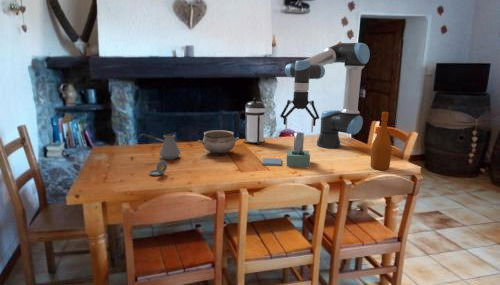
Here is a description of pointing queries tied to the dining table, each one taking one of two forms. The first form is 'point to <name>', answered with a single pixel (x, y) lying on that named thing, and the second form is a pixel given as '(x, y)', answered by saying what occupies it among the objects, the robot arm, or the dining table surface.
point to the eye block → (298, 159)
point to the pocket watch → (159, 171)
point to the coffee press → (253, 122)
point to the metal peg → (298, 143)
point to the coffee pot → (167, 146)
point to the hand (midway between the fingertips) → (298, 131)
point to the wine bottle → (381, 146)
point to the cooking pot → (218, 141)
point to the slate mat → (271, 161)
